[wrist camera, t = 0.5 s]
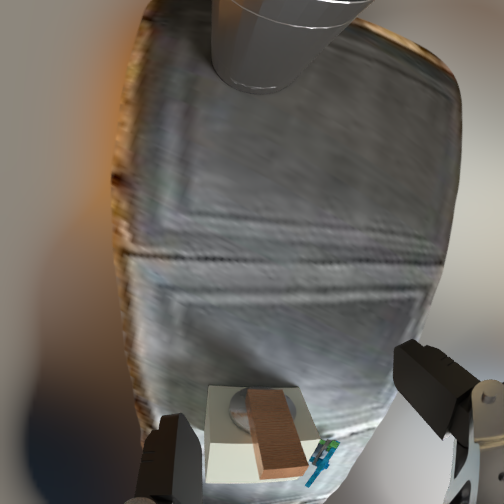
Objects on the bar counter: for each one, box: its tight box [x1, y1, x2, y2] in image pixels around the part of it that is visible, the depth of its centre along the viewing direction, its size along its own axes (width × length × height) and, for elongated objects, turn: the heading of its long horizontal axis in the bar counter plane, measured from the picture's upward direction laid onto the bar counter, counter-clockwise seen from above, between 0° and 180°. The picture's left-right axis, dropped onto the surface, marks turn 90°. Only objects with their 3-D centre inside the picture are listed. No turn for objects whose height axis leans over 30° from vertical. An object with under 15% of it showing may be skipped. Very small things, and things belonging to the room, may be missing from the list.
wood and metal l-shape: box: [229, 386, 309, 480], centre depth 26 cm, size 9×8×14 cm
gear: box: [305, 439, 340, 488], centre depth 37 cm, size 11×6×10 cm
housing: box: [204, 385, 321, 484], centre depth 30 cm, size 10×12×10 cm
